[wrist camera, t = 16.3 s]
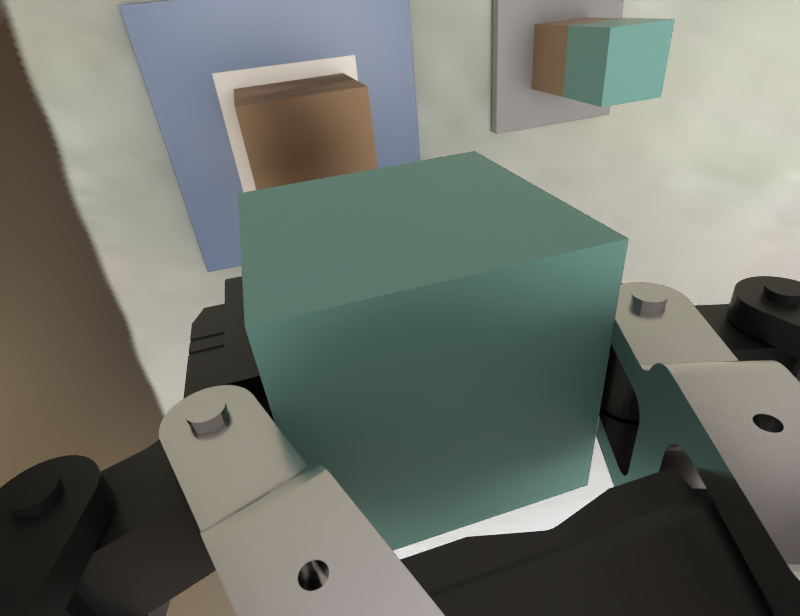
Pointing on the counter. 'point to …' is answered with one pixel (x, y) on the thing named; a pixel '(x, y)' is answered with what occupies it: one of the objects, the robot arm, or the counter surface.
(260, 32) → the board
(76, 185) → the counter surface
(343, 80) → the walnut cube
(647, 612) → the robot arm
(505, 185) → the teal cube
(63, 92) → the counter surface
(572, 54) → the stacked block model
